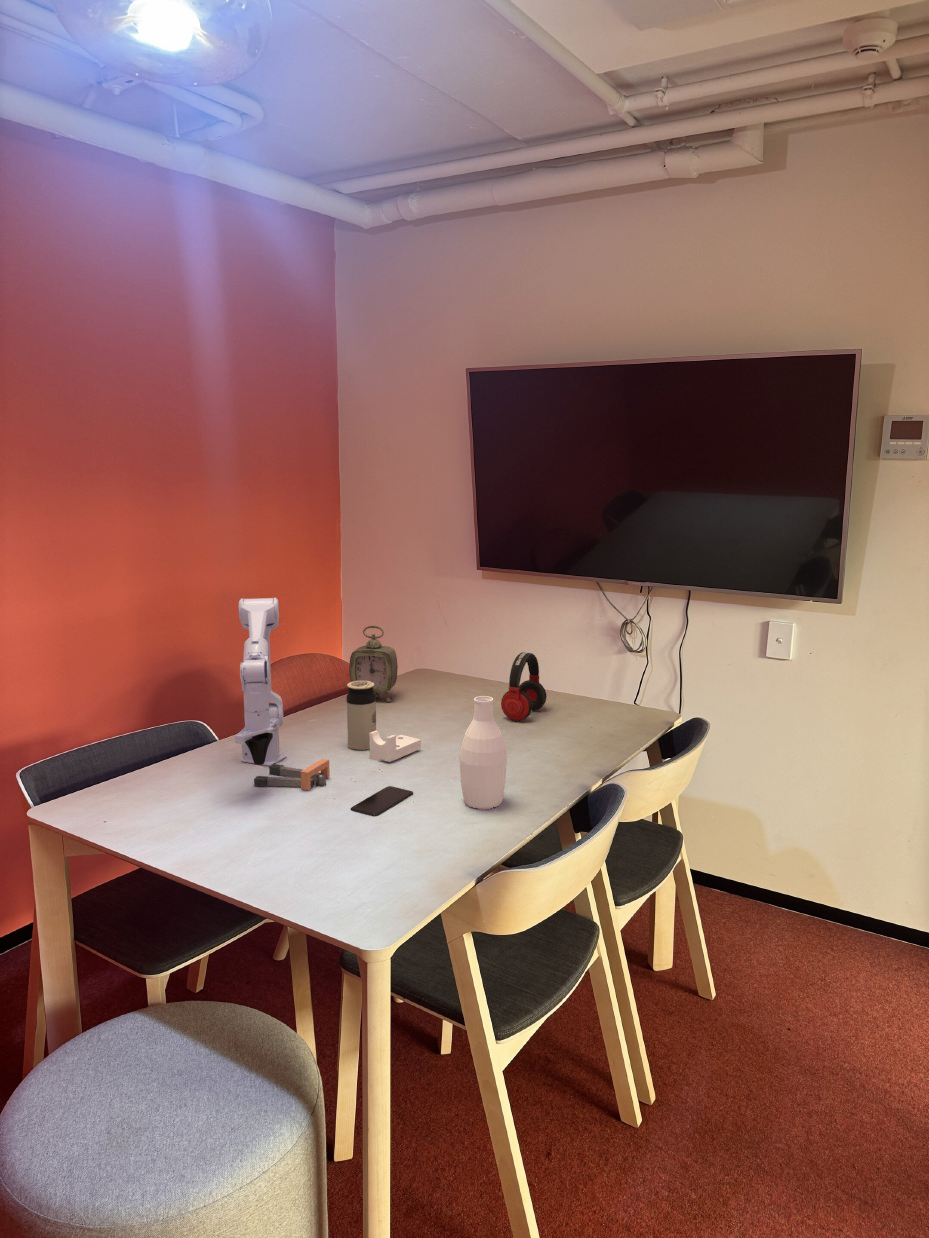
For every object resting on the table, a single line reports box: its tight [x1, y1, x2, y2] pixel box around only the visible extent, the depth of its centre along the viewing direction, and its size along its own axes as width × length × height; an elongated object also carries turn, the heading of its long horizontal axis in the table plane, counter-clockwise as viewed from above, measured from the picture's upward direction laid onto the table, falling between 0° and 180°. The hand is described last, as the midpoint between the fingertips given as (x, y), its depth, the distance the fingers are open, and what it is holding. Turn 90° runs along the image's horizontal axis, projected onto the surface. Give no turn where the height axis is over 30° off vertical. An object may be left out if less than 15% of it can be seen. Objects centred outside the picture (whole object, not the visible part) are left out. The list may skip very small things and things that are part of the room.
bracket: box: [369, 730, 422, 763], centre depth 236 cm, size 13×7×8 cm, turn 144°
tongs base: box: [268, 763, 327, 788], centre depth 219 cm, size 17×4×3 cm, turn 67°
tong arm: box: [253, 775, 315, 788], centre depth 214 cm, size 14×2×2 cm, turn 85°
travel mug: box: [346, 681, 377, 751], centre depth 242 cm, size 8×8×18 cm
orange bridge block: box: [300, 758, 331, 791], centre depth 216 cm, size 2×10×4 cm, turn 157°
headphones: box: [500, 651, 547, 722], centre depth 270 cm, size 18×10×20 cm, turn 153°
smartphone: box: [350, 785, 414, 817], centre depth 205 cm, size 8×1×16 cm
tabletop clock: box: [348, 625, 399, 703], centre depth 286 cm, size 14×9×25 cm, turn 81°
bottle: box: [459, 695, 508, 810], centre depth 203 cm, size 11×11×25 cm
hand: (259, 763), depth 208 cm, fingers closed
